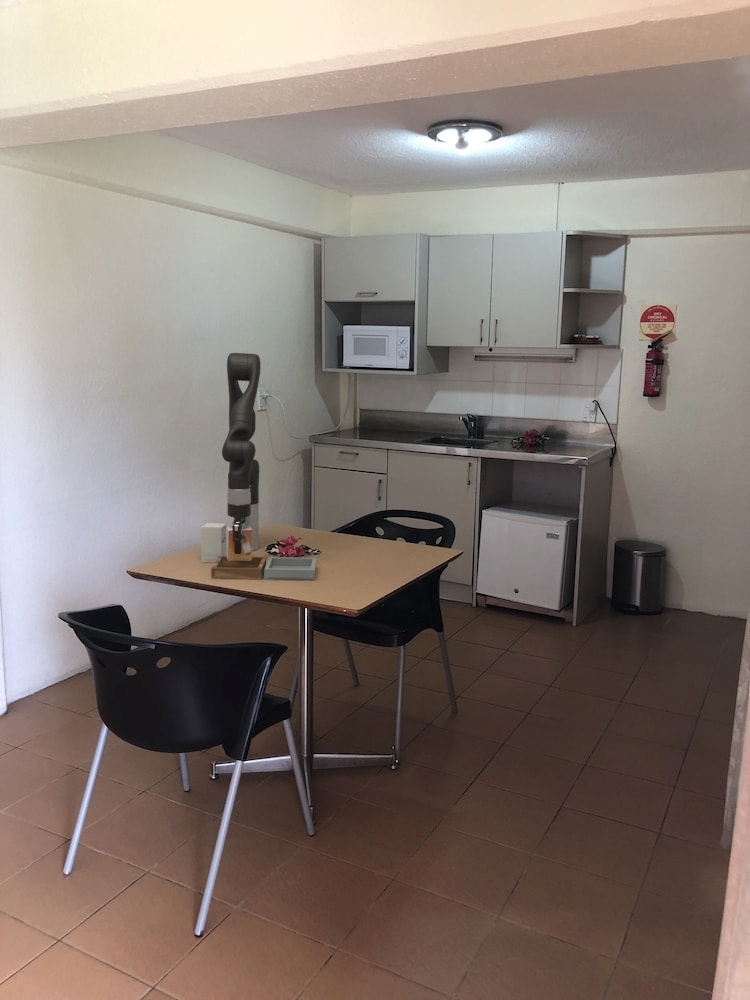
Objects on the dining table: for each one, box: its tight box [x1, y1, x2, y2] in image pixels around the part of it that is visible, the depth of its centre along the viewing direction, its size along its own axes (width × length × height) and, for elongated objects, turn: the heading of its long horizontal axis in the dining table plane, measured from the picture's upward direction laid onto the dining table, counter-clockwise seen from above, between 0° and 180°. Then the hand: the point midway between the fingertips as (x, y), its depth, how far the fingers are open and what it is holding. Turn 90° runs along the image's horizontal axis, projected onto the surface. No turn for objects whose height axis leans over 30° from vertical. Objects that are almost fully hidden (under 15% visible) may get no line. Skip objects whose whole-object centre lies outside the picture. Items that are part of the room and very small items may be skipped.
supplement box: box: [200, 522, 227, 564], centre depth 288 cm, size 7×7×13 cm
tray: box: [263, 556, 317, 581], centre depth 274 cm, size 16×16×4 cm
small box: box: [226, 526, 253, 561], centre depth 273 cm, size 8×6×10 cm
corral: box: [210, 556, 267, 581], centre depth 274 cm, size 16×16×4 cm
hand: (239, 550), depth 273 cm, fingers closed on small box, 6 cm apart
